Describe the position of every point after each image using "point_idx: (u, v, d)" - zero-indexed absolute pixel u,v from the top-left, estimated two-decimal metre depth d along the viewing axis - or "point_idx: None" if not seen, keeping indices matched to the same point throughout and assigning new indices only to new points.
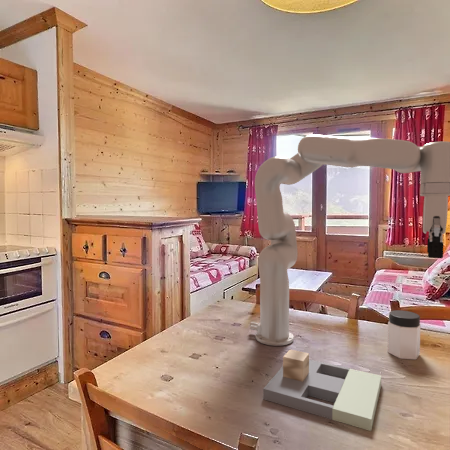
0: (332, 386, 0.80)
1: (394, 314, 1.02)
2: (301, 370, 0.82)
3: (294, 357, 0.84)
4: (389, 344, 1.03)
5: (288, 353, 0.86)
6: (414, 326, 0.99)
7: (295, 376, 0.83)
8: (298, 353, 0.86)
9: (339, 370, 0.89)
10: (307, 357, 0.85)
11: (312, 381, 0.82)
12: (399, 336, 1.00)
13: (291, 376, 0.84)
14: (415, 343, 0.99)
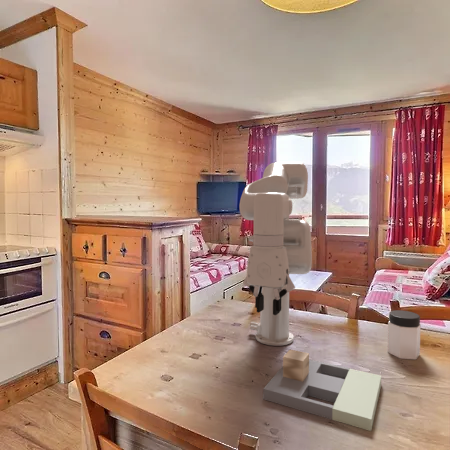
0: (332, 386, 0.80)
1: (394, 314, 1.02)
2: (301, 370, 0.82)
3: (294, 357, 0.84)
4: (389, 344, 1.03)
5: (288, 353, 0.86)
6: (414, 326, 0.99)
7: (295, 376, 0.83)
8: (298, 353, 0.86)
9: (339, 370, 0.89)
10: (307, 357, 0.85)
11: (312, 381, 0.82)
12: (399, 336, 1.00)
13: (291, 376, 0.84)
14: (415, 343, 0.99)
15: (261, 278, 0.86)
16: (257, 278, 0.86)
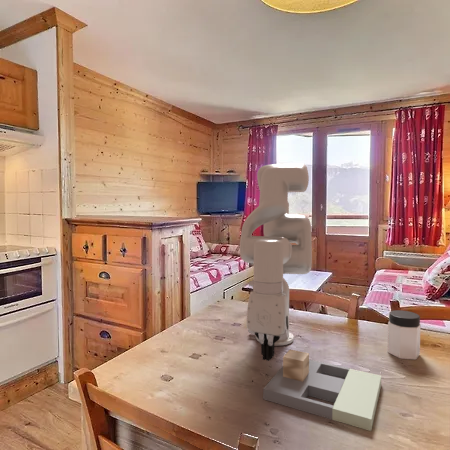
0: (332, 386, 0.80)
1: (394, 314, 1.02)
2: (301, 370, 0.82)
3: (294, 357, 0.84)
4: (389, 344, 1.03)
5: (288, 353, 0.86)
6: (414, 326, 0.99)
7: (295, 376, 0.83)
8: (298, 353, 0.86)
9: (339, 370, 0.89)
10: (307, 357, 0.85)
11: (312, 381, 0.82)
12: (399, 336, 1.00)
13: (291, 376, 0.84)
14: (415, 343, 0.99)
15: (261, 325, 0.86)
16: (257, 325, 0.87)
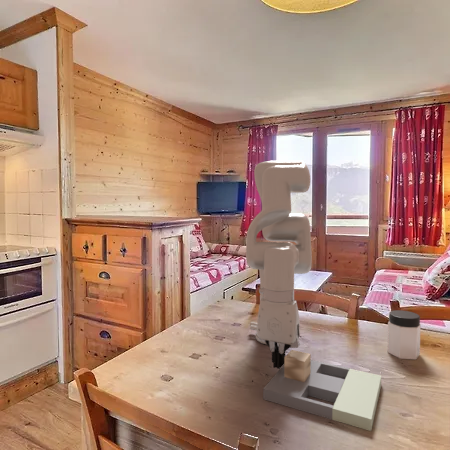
0: (332, 386, 0.80)
1: (394, 314, 1.02)
2: (302, 371, 0.82)
3: (295, 357, 0.84)
4: (389, 344, 1.03)
5: (289, 353, 0.86)
6: (414, 326, 0.99)
7: (296, 377, 0.83)
8: (300, 353, 0.86)
9: (339, 370, 0.89)
10: (309, 358, 0.85)
11: (312, 381, 0.82)
12: (399, 336, 1.00)
13: (292, 376, 0.83)
14: (415, 343, 0.99)
15: (272, 333, 0.85)
16: (267, 333, 0.86)
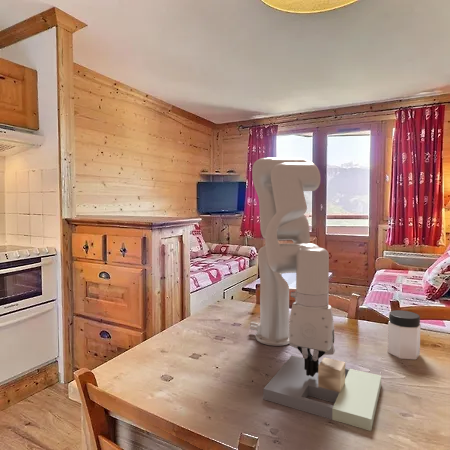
0: None
1: (394, 314, 1.02)
2: (338, 380, 0.77)
3: (330, 366, 0.79)
4: (389, 344, 1.03)
5: (323, 361, 0.81)
6: (414, 326, 0.99)
7: (331, 386, 0.78)
8: (334, 362, 0.81)
9: None
10: (344, 366, 0.80)
11: (312, 381, 0.82)
12: (399, 336, 1.00)
13: (327, 386, 0.79)
14: (415, 343, 0.99)
15: (305, 339, 0.81)
16: (300, 339, 0.81)
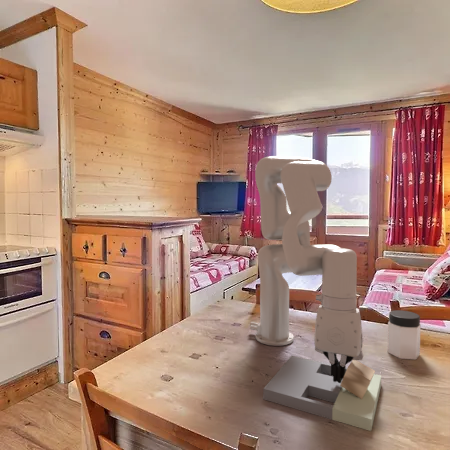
0: (332, 386, 0.80)
1: (394, 314, 1.02)
2: (364, 388, 0.74)
3: (360, 371, 0.76)
4: (389, 344, 1.03)
5: (353, 364, 0.78)
6: (414, 326, 0.99)
7: (355, 391, 0.76)
8: (364, 367, 0.78)
9: None
10: None
11: (312, 381, 0.82)
12: (399, 336, 1.00)
13: (350, 389, 0.76)
14: (415, 343, 0.99)
15: (333, 344, 0.78)
16: (327, 343, 0.78)
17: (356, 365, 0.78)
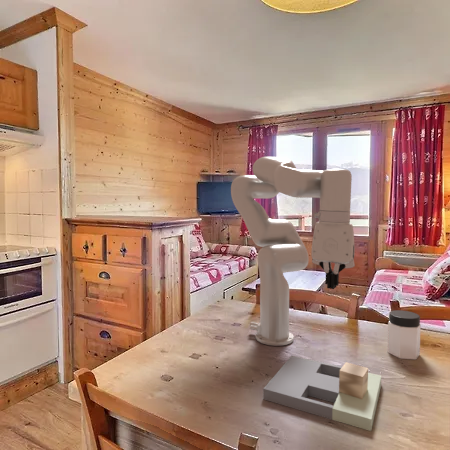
0: (332, 386, 0.80)
1: (394, 314, 1.02)
2: (360, 386, 0.75)
3: (352, 371, 0.77)
4: (389, 344, 1.03)
5: (345, 366, 0.79)
6: (414, 326, 0.99)
7: (353, 392, 0.76)
8: (356, 367, 0.79)
9: (339, 370, 0.89)
10: (366, 372, 0.78)
11: (312, 381, 0.82)
12: (399, 336, 1.00)
13: (348, 392, 0.76)
14: (415, 343, 0.99)
15: (327, 253, 0.87)
16: (323, 253, 0.88)
17: (348, 367, 0.79)
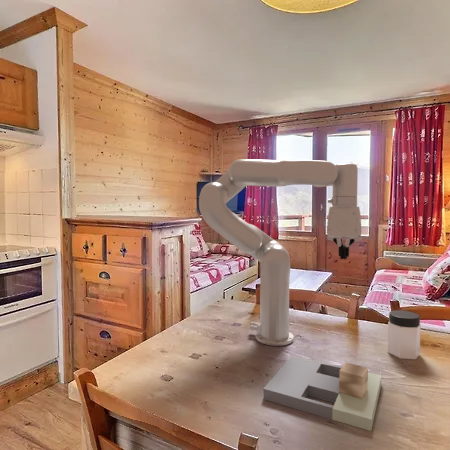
0: (332, 386, 0.80)
1: (394, 314, 1.02)
2: (360, 386, 0.75)
3: (352, 371, 0.77)
4: (389, 344, 1.03)
5: (345, 366, 0.79)
6: (414, 326, 0.99)
7: (353, 392, 0.76)
8: (356, 367, 0.79)
9: (339, 370, 0.89)
10: (366, 372, 0.78)
11: (312, 381, 0.82)
12: (399, 336, 1.00)
13: (348, 392, 0.76)
14: (415, 343, 0.99)
15: (340, 230, 1.10)
16: (336, 231, 1.10)
17: (348, 367, 0.79)
